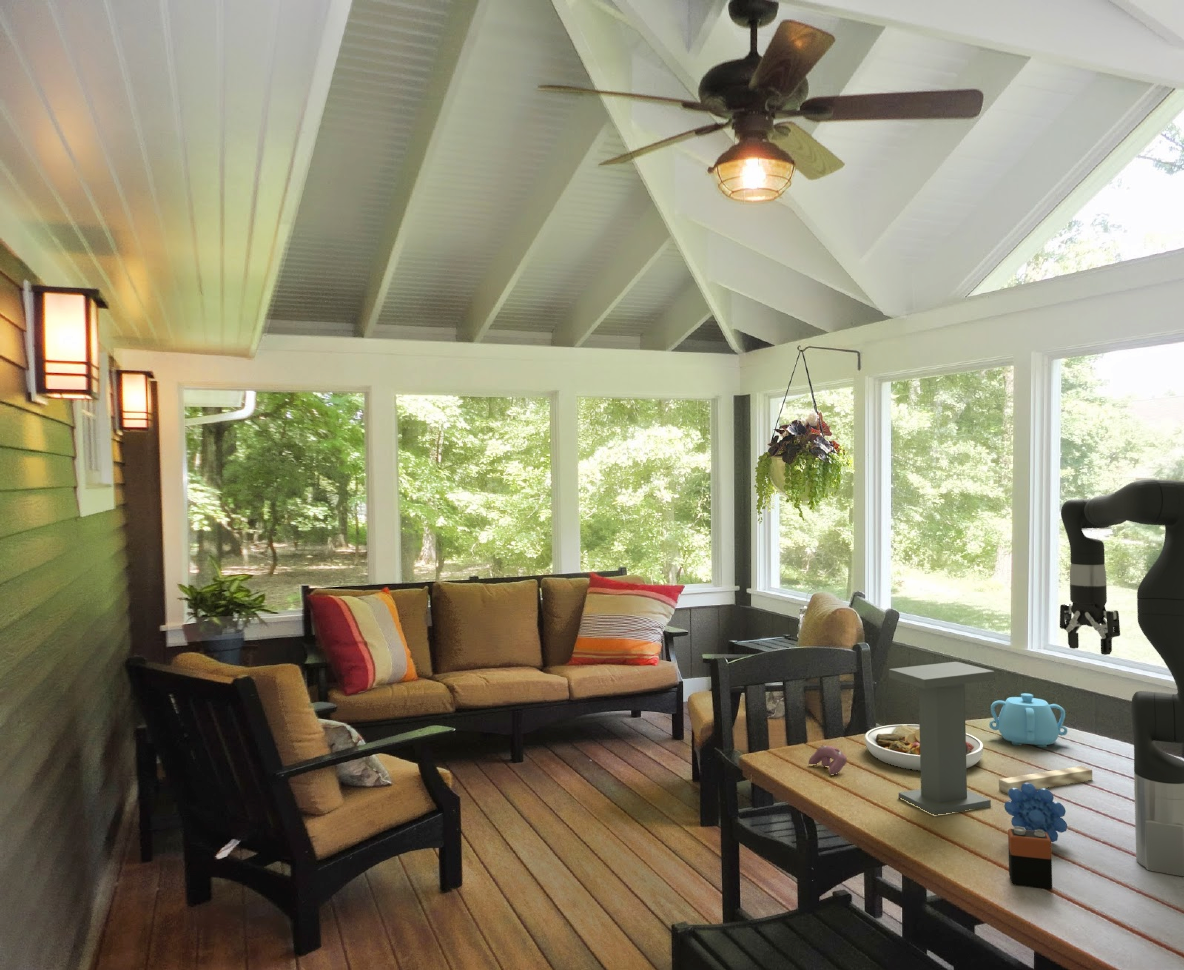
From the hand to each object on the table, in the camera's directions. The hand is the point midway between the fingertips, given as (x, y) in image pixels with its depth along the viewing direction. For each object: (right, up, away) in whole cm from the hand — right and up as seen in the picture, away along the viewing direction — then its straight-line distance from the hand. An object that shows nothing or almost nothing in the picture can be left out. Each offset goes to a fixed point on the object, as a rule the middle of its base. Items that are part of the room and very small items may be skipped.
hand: (1089, 651), depth 203 cm
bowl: (-28, -35, +31) cm, 54 cm away
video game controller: (-56, -36, +22) cm, 70 cm away
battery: (-36, -35, -43) cm, 66 cm away
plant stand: (-36, -35, -3) cm, 50 cm away
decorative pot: (+7, -34, +42) cm, 54 cm away
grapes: (-26, -35, -26) cm, 51 cm away
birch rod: (-7, -35, +7) cm, 36 cm away
